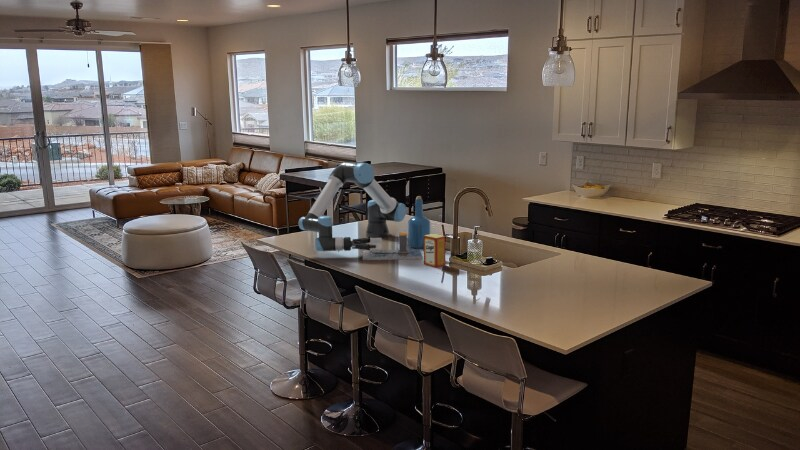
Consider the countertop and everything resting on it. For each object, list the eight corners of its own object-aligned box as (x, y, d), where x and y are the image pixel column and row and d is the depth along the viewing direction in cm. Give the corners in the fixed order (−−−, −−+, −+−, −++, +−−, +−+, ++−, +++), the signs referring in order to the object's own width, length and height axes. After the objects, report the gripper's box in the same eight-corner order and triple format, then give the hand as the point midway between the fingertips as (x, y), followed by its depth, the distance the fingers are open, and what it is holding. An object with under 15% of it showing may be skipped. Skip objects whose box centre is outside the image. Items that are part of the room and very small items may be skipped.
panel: (363, 253, 363) (363, 250, 362) (419, 251, 364) (419, 249, 363) (362, 260, 347) (362, 257, 347) (421, 258, 348) (421, 256, 348)
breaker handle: (397, 251, 357) (397, 231, 355) (408, 251, 358) (408, 231, 355) (397, 253, 353) (397, 233, 351) (408, 253, 353) (408, 233, 351)
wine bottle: (431, 249, 370) (430, 197, 364) (408, 249, 370) (407, 198, 364) (430, 243, 383) (430, 194, 377) (408, 243, 384) (407, 194, 378)
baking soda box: (423, 264, 337) (423, 234, 334) (432, 262, 341) (432, 232, 338) (436, 267, 330) (436, 237, 327) (445, 265, 334) (445, 235, 331)
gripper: (344, 245, 366) (381, 244, 367) (342, 256, 342) (382, 255, 342) (344, 232, 365) (381, 231, 365) (342, 242, 340) (381, 241, 341)
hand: (381, 243), depth 354 cm, fingers open, 13 cm apart
